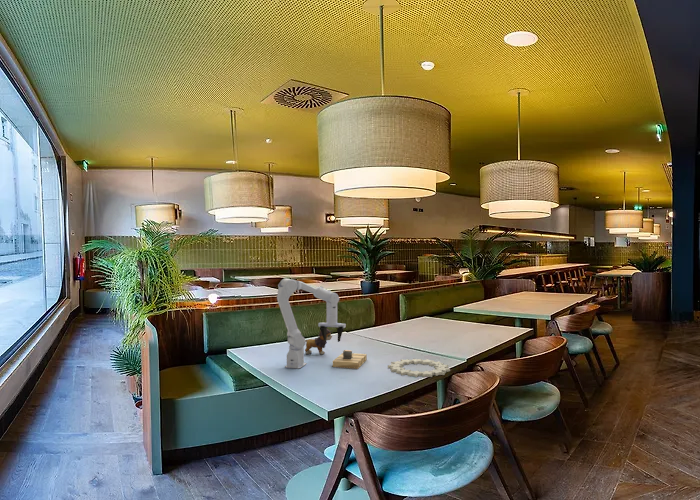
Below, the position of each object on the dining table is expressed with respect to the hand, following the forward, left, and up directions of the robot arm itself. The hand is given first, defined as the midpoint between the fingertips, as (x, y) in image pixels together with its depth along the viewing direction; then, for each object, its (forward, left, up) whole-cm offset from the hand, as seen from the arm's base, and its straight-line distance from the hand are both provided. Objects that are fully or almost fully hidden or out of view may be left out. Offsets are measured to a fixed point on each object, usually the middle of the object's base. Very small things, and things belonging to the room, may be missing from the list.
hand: (332, 340), depth 233 cm
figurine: (+12, +14, -11) cm, 22 cm away
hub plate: (-3, -11, -10) cm, 15 cm away
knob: (-4, -10, -10) cm, 15 cm away
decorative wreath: (-4, -46, -11) cm, 47 cm away
